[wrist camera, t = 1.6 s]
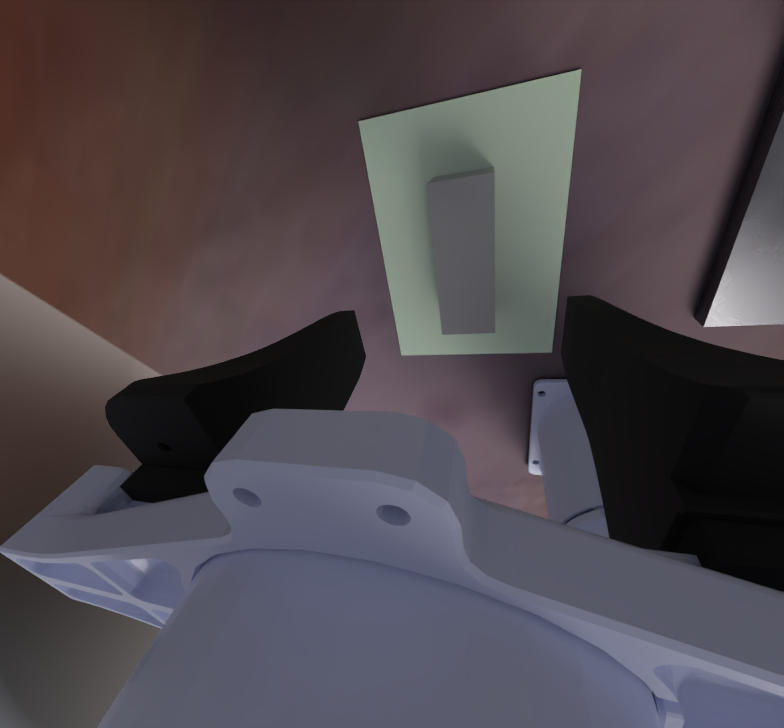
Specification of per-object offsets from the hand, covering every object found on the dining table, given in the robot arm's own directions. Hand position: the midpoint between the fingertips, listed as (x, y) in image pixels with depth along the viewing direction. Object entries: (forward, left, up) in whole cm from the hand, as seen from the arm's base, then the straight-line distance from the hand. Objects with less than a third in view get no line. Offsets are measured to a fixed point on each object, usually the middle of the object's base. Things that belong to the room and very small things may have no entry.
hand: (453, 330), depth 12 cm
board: (0, 0, -10) cm, 10 cm away
